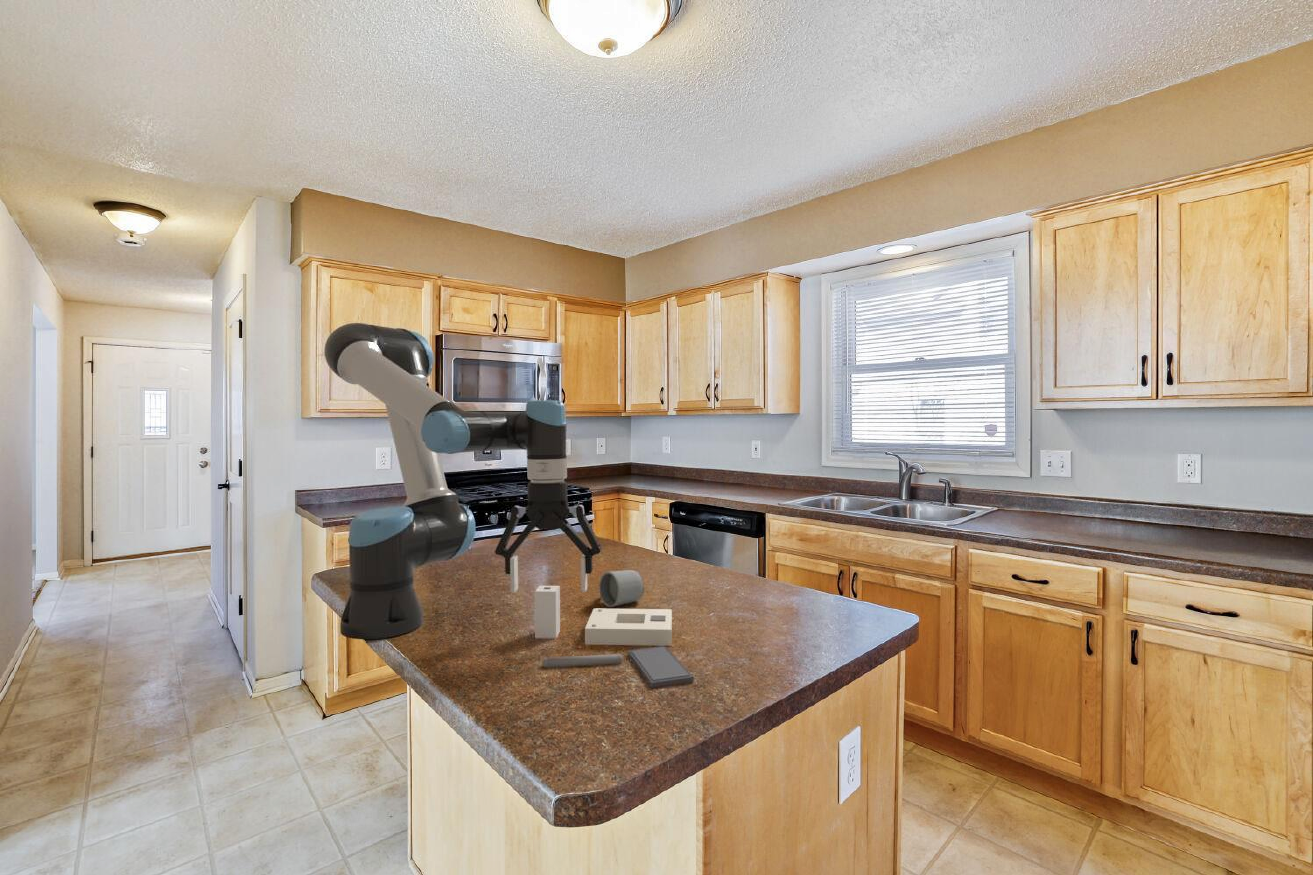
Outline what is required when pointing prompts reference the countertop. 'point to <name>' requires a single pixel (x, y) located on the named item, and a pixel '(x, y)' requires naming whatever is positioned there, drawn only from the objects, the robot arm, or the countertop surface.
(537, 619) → the charger block
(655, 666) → the phone slab
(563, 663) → the grey rod
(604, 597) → the ceramic mug
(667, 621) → the outlet plate
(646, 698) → the countertop surface
